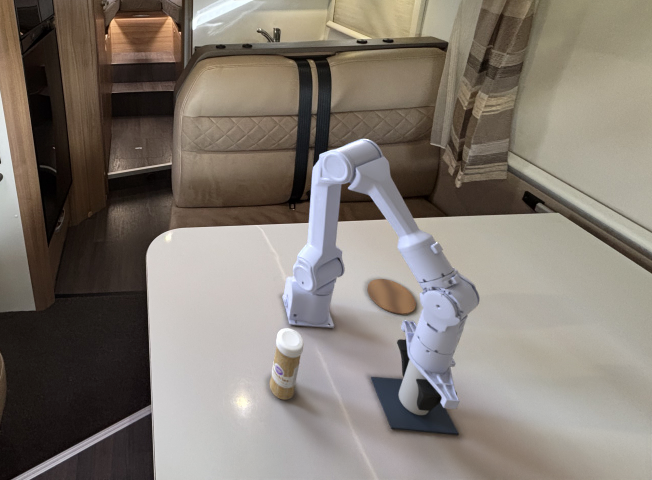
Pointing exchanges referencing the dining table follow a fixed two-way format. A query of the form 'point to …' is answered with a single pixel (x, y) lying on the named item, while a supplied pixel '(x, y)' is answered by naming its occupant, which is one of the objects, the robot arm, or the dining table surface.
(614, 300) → the dining table surface
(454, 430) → the slate pad
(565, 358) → the dining table surface
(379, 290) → the cork coaster
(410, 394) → the beverage can
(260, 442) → the dining table surface
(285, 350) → the sprinkles bottle
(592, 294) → the dining table surface
